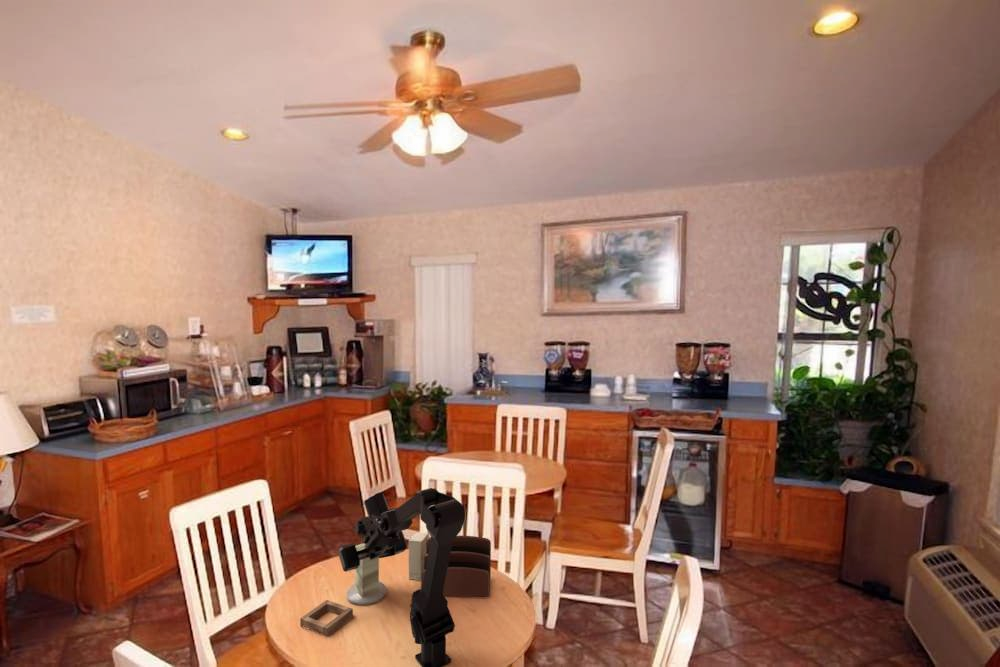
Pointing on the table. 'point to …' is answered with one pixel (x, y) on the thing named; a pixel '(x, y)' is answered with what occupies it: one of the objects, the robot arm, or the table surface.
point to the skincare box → (417, 554)
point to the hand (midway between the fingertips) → (364, 561)
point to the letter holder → (466, 567)
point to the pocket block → (326, 629)
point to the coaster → (370, 599)
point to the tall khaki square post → (367, 575)
